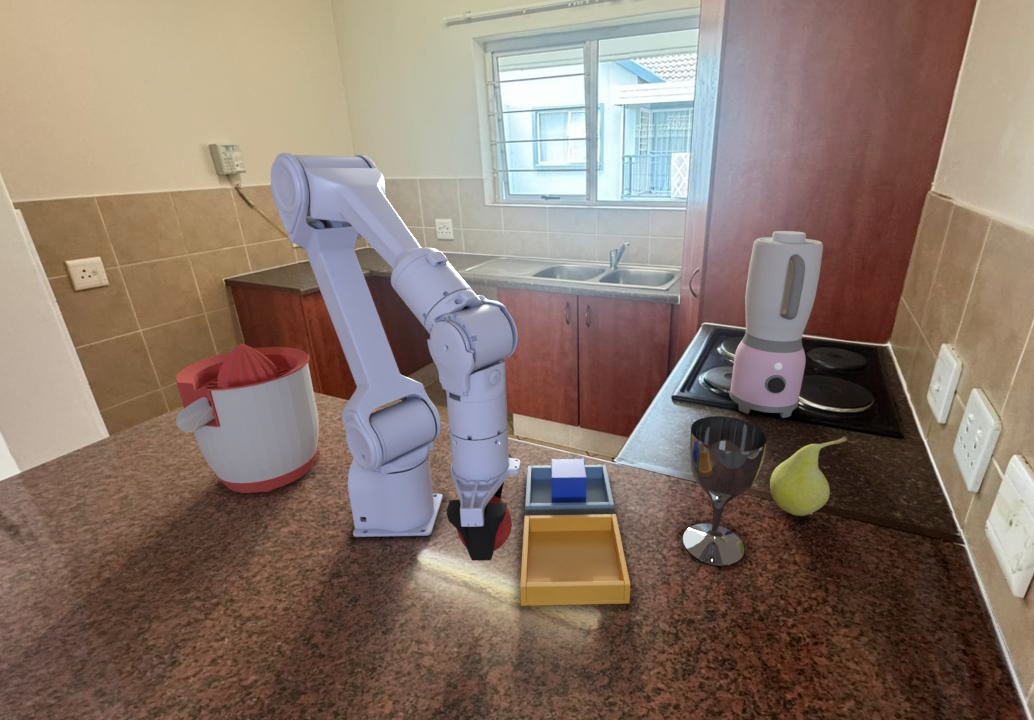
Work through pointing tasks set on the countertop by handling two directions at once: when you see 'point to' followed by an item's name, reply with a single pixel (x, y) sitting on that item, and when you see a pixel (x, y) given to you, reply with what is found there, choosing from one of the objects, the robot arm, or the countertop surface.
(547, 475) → the gray tray
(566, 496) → the blue block
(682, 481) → the countertop surface
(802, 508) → the fruit
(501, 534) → the onion
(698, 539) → the wine glass
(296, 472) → the citrus juicer
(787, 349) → the blender
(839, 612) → the countertop surface
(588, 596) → the ochre tray
